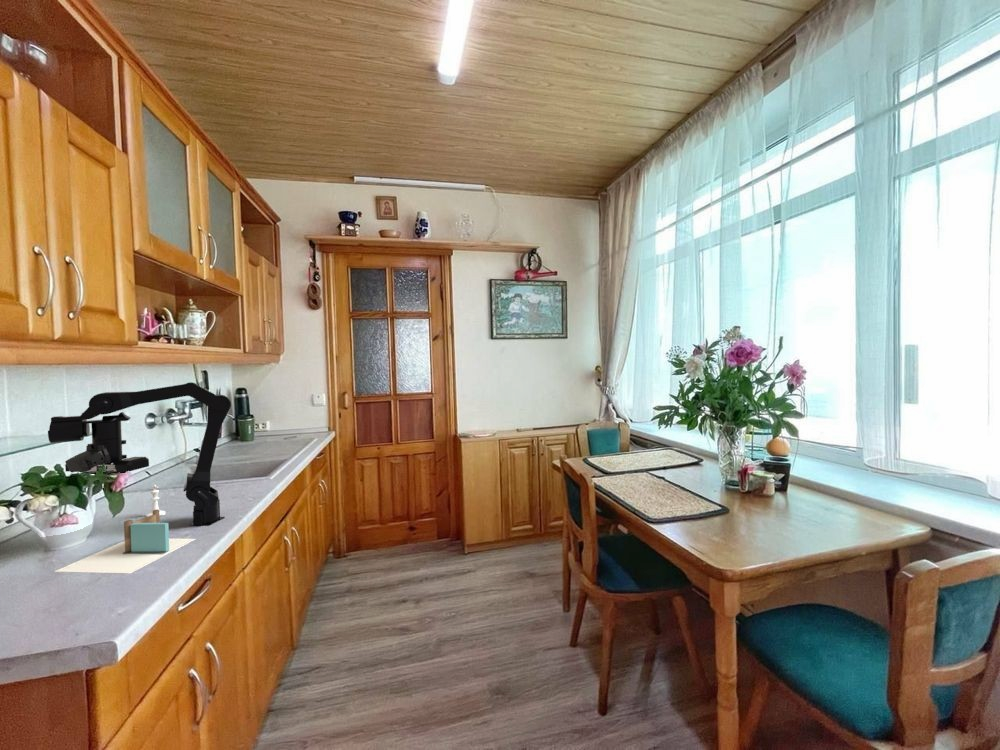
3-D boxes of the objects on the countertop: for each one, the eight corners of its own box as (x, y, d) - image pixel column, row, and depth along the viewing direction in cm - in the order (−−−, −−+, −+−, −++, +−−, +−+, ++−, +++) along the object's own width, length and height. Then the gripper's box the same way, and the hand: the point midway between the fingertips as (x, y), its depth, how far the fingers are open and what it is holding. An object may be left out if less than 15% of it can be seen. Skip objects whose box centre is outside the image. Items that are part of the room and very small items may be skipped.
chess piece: (149, 514, 129) (148, 483, 128) (168, 511, 130) (167, 482, 130) (142, 519, 124) (141, 488, 124) (161, 517, 126) (160, 486, 126)
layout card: (131, 539, 110) (131, 537, 110) (196, 540, 108) (195, 538, 108) (54, 573, 92) (54, 571, 92) (130, 575, 90) (130, 572, 90)
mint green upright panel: (131, 551, 101) (130, 524, 100) (135, 549, 102) (134, 522, 101) (165, 551, 100) (165, 524, 100) (169, 549, 101) (168, 522, 101)
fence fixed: (156, 537, 109) (155, 509, 109) (162, 537, 109) (160, 509, 109) (123, 553, 100) (122, 522, 100) (129, 553, 100) (128, 522, 100)
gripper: (39, 444, 100) (41, 505, 100) (107, 444, 99) (109, 506, 99) (88, 436, 111) (90, 491, 111) (149, 436, 110) (151, 491, 110)
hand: (109, 495), depth 108 cm, fingers closed
